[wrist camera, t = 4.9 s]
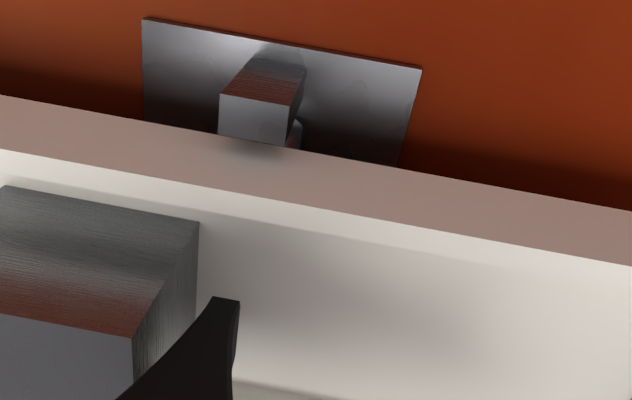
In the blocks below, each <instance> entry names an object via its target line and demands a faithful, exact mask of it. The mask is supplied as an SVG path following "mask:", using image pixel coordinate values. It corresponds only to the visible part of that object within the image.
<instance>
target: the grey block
mask: <svg viewBox="0 0 632 400" xmlns="http://www.w3.org/2000/svg"><path fill="white" fill-rule="evenodd" d="M199 224H200V222H199V221H194V220H188V219H183V218H178V217H172V216H167V215H162V214H157V213H151V212H146V211H141V210H136V209H130V208H125V207H120V206H114V205H109V204H104V203H99V202H93V201H88V200H83V199H78V198H72V197H67V196H62V195H56V194H51V193H46V192H41V191H35V190H30V189H25V188H19V187H14V186H9V185H4V186H3V187H1V188H0V400H115V399H116V398H117V397H118V396H120V395H121V394H122V393H123V392H124V391H125V390H127V389H128V388H129V387H130V386H131V385H132V384H133V383H134V382H136V381H137V380H138V379H139V378H140V377H141V376H142V375H143V374H144V373H145V372H146V371H147V370H148V369H149V368H150V367H151V366H152V365H154V364H155V363H156V362H157V361H158V360H159V359H160V358H161V357H162V356H163V355H164V354H165V353H166V352H167V351H168V349H169V348H170V347H171V346H172V345H173V344H174V343H175V342H176V341H177V340H178V339H179V338H180V337H181V336H182V335H183V334H184V332H185V331H186V330H187V329H188V328H189V327H190V326H191V324H192V323H193V322H194V321H195V317H196V294H197V270H198V247H199Z"/></svg>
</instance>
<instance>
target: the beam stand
mask: <svg viewBox="0 0 632 400" xmlns="http://www.w3.org/2000/svg"><path fill="white" fill-rule="evenodd" d="M141 30H142V72H143V113H144V121H145V122H151V123H156V124H162V125H167V126H172V127H178V128H183V129H189V130H194V131H199V132H205V133H210V134H216V135H221V136H226V137H232V138H237V139H243V140H248V141H253V142H259V143H264V144H270V145H275V146H280V147H286V148H291V149H297V150H302V151H307V152H313V153H318V154H323V155H329V156H334V157H340V158H345V159H350V160H356V161H361V162H367V163H372V164H377V165H383V166H388V167H394V168H397V164H398V161H399V157H400V153H401V149H402V145H403V142H404V138H405V134H406V130H407V126H408V123H409V119H410V115H411V111H412V107H413V104H414V100H415V96H416V92H417V88H418V85H419V81H420V77H421V73H422V67H421V66H417V65H411V64H406V63H400V62H395V61H389V60H384V59H378V58H372V57H367V56H361V55H356V54H350V53H345V52H339V51H334V50H328V49H323V48H317V47H312V46H306V45H301V44H295V43H290V42H284V41H278V40H273V39H267V38H262V37H256V36H251V35H245V34H240V33H234V32H229V31H223V30H218V29H212V28H207V27H201V26H195V25H190V24H184V23H179V22H173V21H168V20H162V19H157V18H151V17H145V18H143V19H141Z"/></svg>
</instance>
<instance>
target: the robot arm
mask: <svg viewBox="0 0 632 400" xmlns="http://www.w3.org/2000/svg"><path fill="white" fill-rule="evenodd" d="M239 315H240V301H237V300H232V299H227V298H221V297H216V296H212V298H211V299H210V301H209V302H208V304H207V306H206V307H205V309H204V310H203V311H202V312H201V314H200V315H199V316H198V317H197V319H196V320H195V321H194V322H193V323H192V324H191V326H190V327H189V328H188V329H187V330H186V331H185V332H184V334H183V335H182V336H181V337H180V338H179V339H178V340H177V341H176V342H175V343H174V344H173V345H172V346H171V347H170V348H169V349H168V351H167V352H166V353H165V354H164V355H163V356H162V357H161V358H160V359H159V360H158V361H157V362H156V363H155V364H154V365H152V366H151V367H150V368H149V369H148V370H147V371H146V372H145V373H144V374H143V375H142V376H141V377H140V378H139V379H138V380H137V381H136V382H134V383H133V384H132V385H131V386H130V387H129V388H128V389H127V390H125V391H124V392H123V393H122V394H121V395H120V396H118V397H117V398H116V399H115V400H233V392H232V367H233V363H234V359H235V354H236V344H237V335H238V325H239Z"/></svg>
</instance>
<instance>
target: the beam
mask: <svg viewBox="0 0 632 400" xmlns="http://www.w3.org/2000/svg"><path fill="white" fill-rule="evenodd" d="M4 185H9V186H14V187H19V188H25V189H30V190H35V191H41V192H46V193H51V194H56V195H62V196H67V197H72V198H78V199H83V200H88V201H93V202H99V203H104V204H109V205H114V206H120V207H125V208H130V209H136V210H141V211H146V212H151V213H157V214H162V215H167V216H172V217H178V218H183V219H188V220H194V221H199V222H200V224H199V247H198V270H197V294H196V317H195V320H196V319H197V317H198V316H199V315H200V314H201V312H202V311H203V310H204V309H205V307H206V306H207V304H208V302H209V301H210V299H211V298H212V296H216V297H221V298H227V299H232V300H237V301H240V315H239V325H238V335H237V344H236V354H235V359H234V363H233V367H232V392H233V400H632V212H631V211H626V210H620V209H615V208H610V207H604V206H599V205H593V204H588V203H583V202H577V201H572V200H566V199H561V198H556V197H550V196H545V195H539V194H534V193H529V192H523V191H518V190H512V189H507V188H502V187H496V186H491V185H485V184H480V183H475V182H469V181H464V180H458V179H453V178H448V177H442V176H437V175H431V174H426V173H421V172H415V171H410V170H404V169H399V168H394V167H388V166H383V165H377V164H372V163H367V162H361V161H356V160H350V159H345V158H340V157H334V156H329V155H323V154H318V153H313V152H307V151H302V150H297V149H291V148H286V147H280V146H275V145H270V144H264V143H259V142H253V141H248V140H243V139H237V138H232V137H226V136H221V135H216V134H210V133H205V132H199V131H194V130H189V129H183V128H178V127H172V126H167V125H162V124H156V123H151V122H145V121H140V120H135V119H129V118H124V117H118V116H113V115H108V114H102V113H97V112H91V111H86V110H81V109H75V108H70V107H64V106H59V105H54V104H48V103H43V102H37V101H32V100H27V99H21V98H16V97H10V96H5V95H0V188H1V187H3V186H4Z"/></svg>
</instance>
